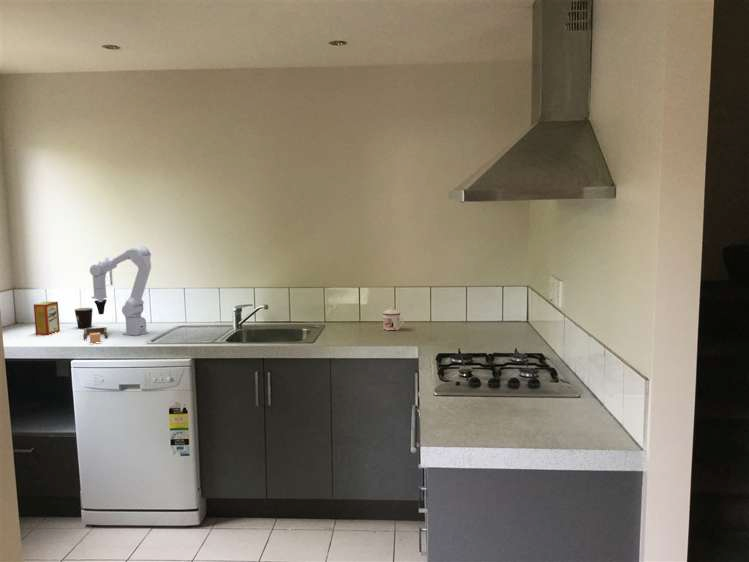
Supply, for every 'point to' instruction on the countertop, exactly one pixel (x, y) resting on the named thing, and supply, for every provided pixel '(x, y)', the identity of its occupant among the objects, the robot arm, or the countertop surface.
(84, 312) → the coffee mug
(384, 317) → the teacup with lid
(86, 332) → the wooden frame
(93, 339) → the terracotta block
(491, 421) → the countertop surface
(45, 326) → the baking soda box
